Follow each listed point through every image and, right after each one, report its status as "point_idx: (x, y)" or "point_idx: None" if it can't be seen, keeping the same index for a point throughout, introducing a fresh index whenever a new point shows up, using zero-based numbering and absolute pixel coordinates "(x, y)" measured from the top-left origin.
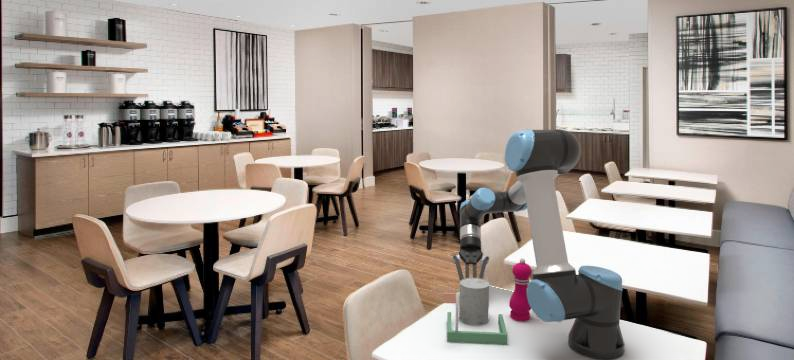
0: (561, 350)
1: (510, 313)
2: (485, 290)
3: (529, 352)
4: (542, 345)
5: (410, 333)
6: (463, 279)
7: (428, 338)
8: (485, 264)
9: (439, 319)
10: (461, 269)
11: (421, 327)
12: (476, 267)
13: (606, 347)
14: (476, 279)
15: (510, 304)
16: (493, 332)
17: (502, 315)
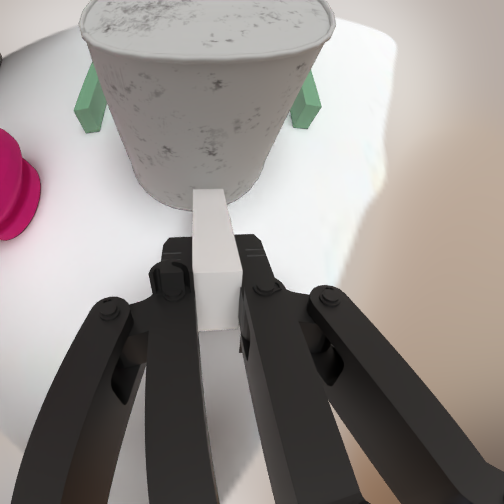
0: (20, 54)
1: (33, 189)
2: None
3: None
4: (41, 54)
5: (380, 76)
6: (316, 43)
7: (333, 49)
8: (14, 500)
9: (336, 140)
10: (387, 397)
11: (370, 97)
12: (149, 481)
13: None
14: (174, 40)
15: (14, 152)
16: None
17: (77, 100)
